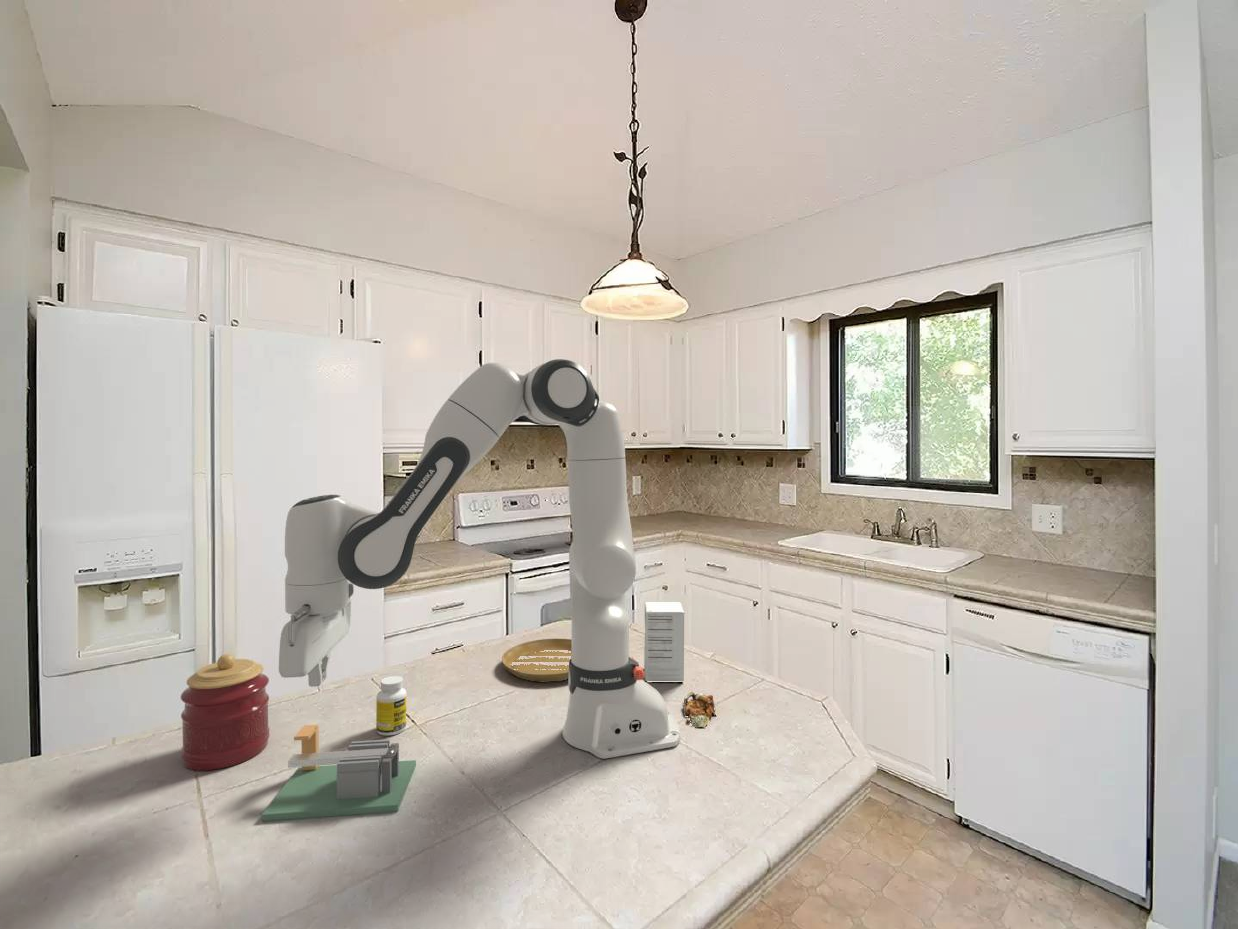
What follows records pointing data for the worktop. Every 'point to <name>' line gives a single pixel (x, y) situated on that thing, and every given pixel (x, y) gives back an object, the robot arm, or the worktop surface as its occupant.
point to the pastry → (698, 709)
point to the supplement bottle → (391, 707)
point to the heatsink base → (325, 793)
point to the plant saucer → (538, 660)
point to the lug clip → (308, 741)
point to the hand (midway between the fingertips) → (318, 683)
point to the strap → (338, 756)
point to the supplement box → (664, 641)
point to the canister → (224, 714)
